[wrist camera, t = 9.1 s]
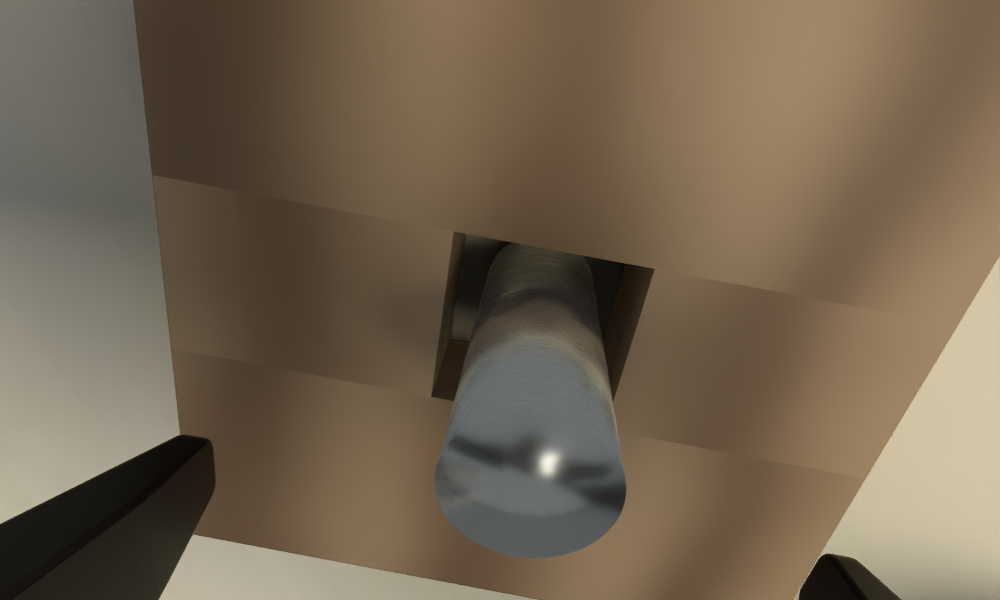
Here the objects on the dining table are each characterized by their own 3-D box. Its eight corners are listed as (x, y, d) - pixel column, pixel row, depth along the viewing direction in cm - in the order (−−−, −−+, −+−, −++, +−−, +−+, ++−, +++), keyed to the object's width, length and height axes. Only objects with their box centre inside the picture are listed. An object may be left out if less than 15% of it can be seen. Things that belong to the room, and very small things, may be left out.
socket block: (1030, -12, 12) (1168, -25, 9) (737, 560, 20) (766, 642, 17) (208, -164, 12) (109, -221, 9) (239, 466, 20) (191, 534, 17)
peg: (604, 245, 15) (650, 434, 8) (579, 339, 17) (599, 572, 9) (496, 225, 15) (447, 394, 8) (480, 320, 17) (425, 539, 9)
